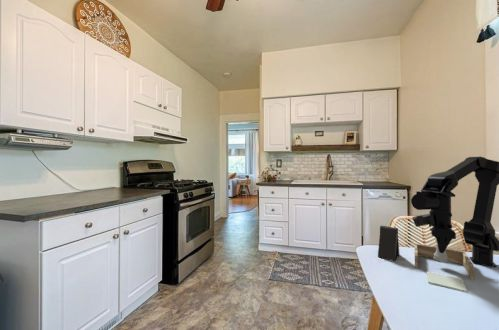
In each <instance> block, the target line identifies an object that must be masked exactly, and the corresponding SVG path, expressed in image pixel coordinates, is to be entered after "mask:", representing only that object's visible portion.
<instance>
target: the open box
mask: <svg viewBox="0 0 499 330" xmlns="http://www.w3.org/2000/svg"><path fill="white" fill-rule="evenodd" d="M436 248H437V246H431V245H425V244H420V243H419V244H418V243H414V268H417V269H418V266H419V265H418V264H419V263H418V261H419V260H418V259H419V258H418V255H420V256H419V257H423V256H425V258H429V257H430V259H434V258H433V257H434V253H435V252H436ZM446 254H447V256H448V257H449V258H448V260H449V261H448V262H451V263H457V264H462V266H463V268H464V269H465V271H466V273H467V276H468V277H469V279H470V280H474V279H475V269H474V268H475V265H474V263H472V261H471V260H470V258H469V255H468V254H467V253H466V251H462V250H458V249H457V250H456V249H450V248H446Z"/></svg>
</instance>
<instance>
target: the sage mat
mask: <svg viewBox="0 0 499 330" xmlns="http://www.w3.org/2000/svg"><path fill="white" fill-rule="evenodd" d="M426 276H427V283H428V284H431V285H435V286H440V287H443V288H444V287H445V288H448V289H452V290H456V291H461V292H465V293H467V292H468V291H467V287H466V285H465V284H464V281H463V279H462V278H460V277H454V276H450V275H445V274H441V273H436V272H432V271H426Z"/></svg>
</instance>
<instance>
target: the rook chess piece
mask: <svg viewBox="0 0 499 330" xmlns="http://www.w3.org/2000/svg"><path fill="white" fill-rule="evenodd" d="M434 241H435V242H436V244H435V245H436V247H437V248H436V252H435V253H434V257H433V258H432V259H434V260H435V261H437V262H440V263H449V262H450V261H449V260H448V258H449V257H448V256H447V254H446V250H445V251H444V253H440V252H439V248H438V244H437V239H436V238H435V240H434Z"/></svg>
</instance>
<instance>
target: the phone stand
mask: <svg viewBox="0 0 499 330" xmlns="http://www.w3.org/2000/svg"><path fill="white" fill-rule="evenodd" d="M377 250H378V251H377V257H378V258H380V257H381V259H384V258H385V259H386V260H389V261H393V262H396V261H397V259H398V258H399V257H400V244H399V229H398V227H393V226H386V225H380V226H379V241H378V249H377ZM397 257H398V258H397ZM385 259H384V260H385Z"/></svg>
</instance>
